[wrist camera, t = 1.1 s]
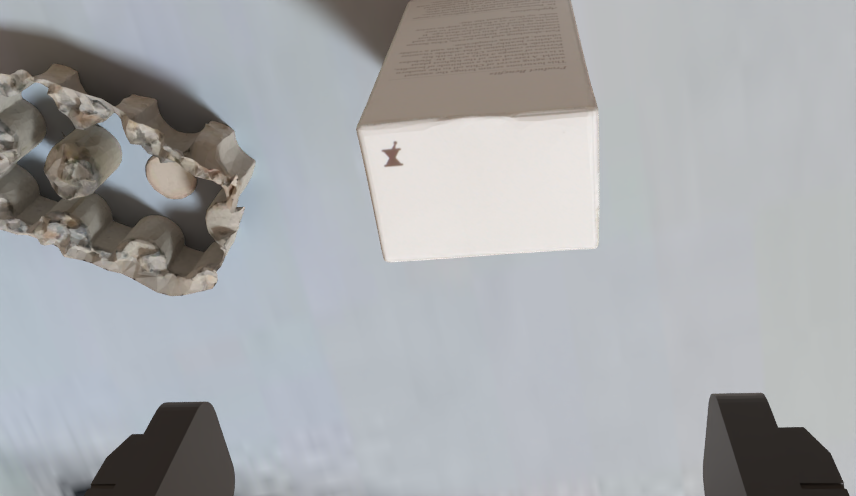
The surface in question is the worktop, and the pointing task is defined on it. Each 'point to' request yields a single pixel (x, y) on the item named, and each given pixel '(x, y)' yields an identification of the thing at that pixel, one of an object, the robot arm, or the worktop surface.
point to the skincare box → (483, 132)
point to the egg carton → (95, 161)
